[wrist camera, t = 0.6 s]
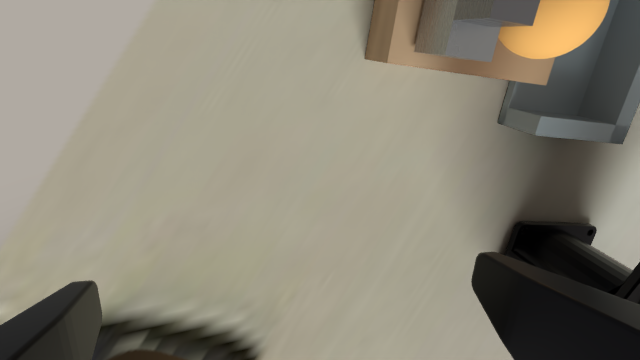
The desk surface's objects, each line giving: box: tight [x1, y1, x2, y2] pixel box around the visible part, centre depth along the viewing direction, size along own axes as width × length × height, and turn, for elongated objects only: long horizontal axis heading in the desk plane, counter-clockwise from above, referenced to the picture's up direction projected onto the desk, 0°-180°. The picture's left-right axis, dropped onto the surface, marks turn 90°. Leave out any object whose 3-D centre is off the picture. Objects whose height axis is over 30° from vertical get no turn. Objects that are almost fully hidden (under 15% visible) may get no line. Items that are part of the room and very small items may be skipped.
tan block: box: [365, 0, 555, 85], centre depth 18 cm, size 8×6×3 cm
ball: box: [498, 0, 610, 59], centre depth 15 cm, size 4×4×4 cm
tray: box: [498, 0, 640, 144], centre depth 20 cm, size 6×11×3 cm, turn 172°
